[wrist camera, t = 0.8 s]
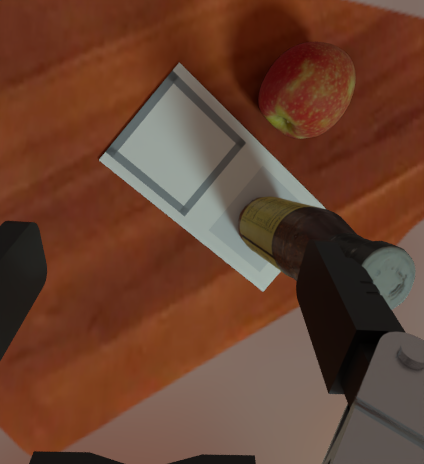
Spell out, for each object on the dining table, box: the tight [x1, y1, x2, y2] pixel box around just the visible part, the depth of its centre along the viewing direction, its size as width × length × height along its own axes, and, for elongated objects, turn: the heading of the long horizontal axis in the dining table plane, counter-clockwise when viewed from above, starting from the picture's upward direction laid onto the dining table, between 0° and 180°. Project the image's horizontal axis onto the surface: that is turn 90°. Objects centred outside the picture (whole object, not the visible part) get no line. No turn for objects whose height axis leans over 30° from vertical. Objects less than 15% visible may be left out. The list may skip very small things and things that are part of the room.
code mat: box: [99, 63, 326, 291], centre depth 37 cm, size 23×12×1 cm, turn 49°
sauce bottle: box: [238, 196, 415, 310], centre depth 29 cm, size 6×6×20 cm
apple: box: [258, 42, 355, 139], centre depth 33 cm, size 8×8×8 cm
